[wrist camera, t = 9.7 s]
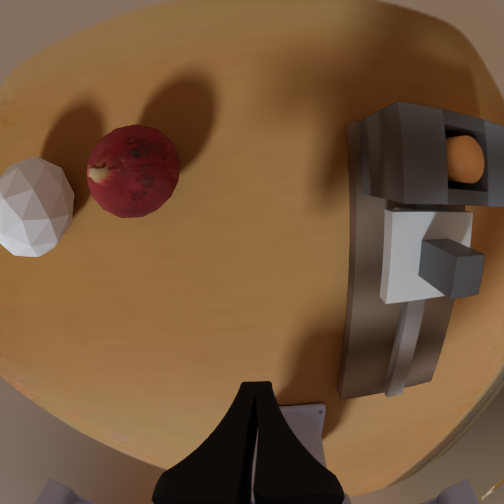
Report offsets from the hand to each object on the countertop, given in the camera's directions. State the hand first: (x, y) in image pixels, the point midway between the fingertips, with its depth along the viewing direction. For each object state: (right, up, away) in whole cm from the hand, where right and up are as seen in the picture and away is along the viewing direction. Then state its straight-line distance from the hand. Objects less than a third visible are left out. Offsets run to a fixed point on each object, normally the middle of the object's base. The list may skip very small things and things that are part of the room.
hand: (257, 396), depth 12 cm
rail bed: (+12, +5, +8) cm, 16 cm away
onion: (-7, +13, +7) cm, 17 cm away
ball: (-17, +11, +8) cm, 22 cm away
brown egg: (+11, +13, +2) cm, 17 cm away
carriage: (+12, +7, +6) cm, 15 cm away
